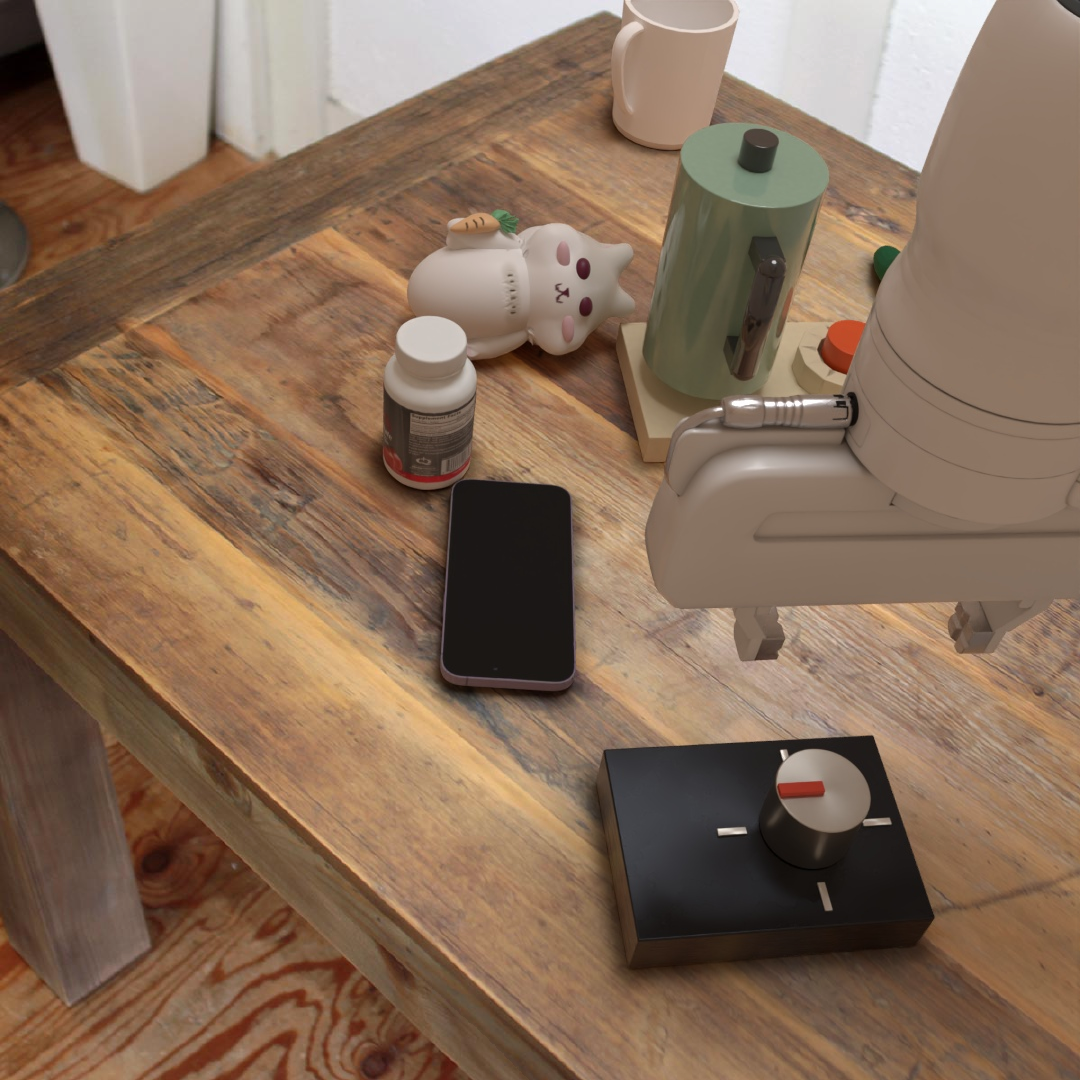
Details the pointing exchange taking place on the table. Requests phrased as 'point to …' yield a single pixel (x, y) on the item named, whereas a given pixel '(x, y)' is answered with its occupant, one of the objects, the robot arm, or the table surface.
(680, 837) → the dial panel
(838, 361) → the button
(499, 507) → the smartphone
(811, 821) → the knob
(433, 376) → the pill bottle
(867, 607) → the table surface
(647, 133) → the mug
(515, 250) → the cat figurine
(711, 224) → the kettle
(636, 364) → the kettle base
